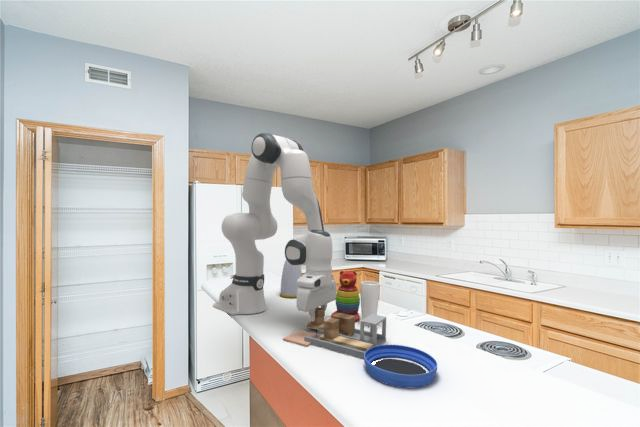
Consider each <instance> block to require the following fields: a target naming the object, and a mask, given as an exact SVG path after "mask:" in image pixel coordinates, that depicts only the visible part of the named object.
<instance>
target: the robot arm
mask: <svg viewBox="0 0 640 427" xmlns="http://www.w3.org/2000/svg"><path fill="white" fill-rule="evenodd" d="M277 168H280V176H281V177H280V178H281V179H280V180H281V192H282V195H283V197H284V199H285V201H287V202H288V203H290V204H291V205H293V206H295V207H296V208H298V209H299V210H300V211H301V212H302V213H303V215H304V216H305V219H306V225H307V231H308V232H307V233H306V234H304V235H301V236H300V237H297V238H292V239H290V240H288V241H287V243H286V245H285V246H284V257H285V261H286V260H287V261H288V262H289V263H290V264H291V265H296V266H300V265H301V266H305V272H304V273H303V274H302V276H301V277H300V278H299V279H298V280H297V286H299V287H298V289H297V298H295V299H296V308H297V311H299V312H303V313H308V315H309V322H310V321H313V322H314V321H316V320H317V319H316V318H317V315H315V312H314V311H315V308H317V307H320V308H325V311H324V317H325V316H326V310H327V307H328V304H329V303H331V302H334V301H336V296H337V283H336V281H335V277H334V276H333V268H332V260H333V239H332V235H331V234H330V233H329V232H328V231H326V230H325V227H324V220H323V216H322V211H321V205H320V202H319V200H318V198H317V196H316V193H315V192H314V186H313V180H312V179H313V178H312V169H311V165H310V160H309V156H308V154H307V153H306V152H305V151H304V148H303V146H302V145H301V144H300V143H299V142H297V141H295V140H292V139H290V138H288V137H286V136H282V135H276V134H271V133H268V132H267V133H266V132H262V133H258V134H257V135H256V136H254V138H253V141H252V142H251V155H250V157H249V160H248V162H247V166H246V168H245V169H246V170H245V175H244V180H243V186H242V193H241V196H242V199H243V201H245V202H246V203H247V205H248V212H236V213H232V214H228V215H225V217H224V218H223V220H222V223H221V232H222V235H223V237H224V238H226V239H227V240H228V241H229V243H230V244H231V246H232V248H233V251H234V255H235V256H234V257H235V274H234V275H232V276H231V277H230V279H232V280H231V283H230V284H229V285H228V286H227V287H225V288H224V289H223V290H222V291H221V292H220V294H219V298H218V301H217V302H215V303H213V305H212V308H214V309H216V310H219V311H221V312H223V313H226V314H228V315H232V316H233V315H235V316H236V315H251V314H252V315H253V314H259V313H264V312H265V311H266V310H267V305H266V300H265V291H264V289H265V288H264V284H265V274H264V264H265V263H264V262H265V259H264V258H265V257H264V254H263V252H262V251H260V250H259V249H258V248H257V245H256V241H257V240H258V241H259V240H260V241H261V240H266V239H269V238H272V237H274V236H275V235H276V233H277V231H278V221H277V219H276V218H275V217H274V215H273V213H272V208H271V194H272V193H271V192H272V187H273V181H274V174H275V171H276V169H277Z"/></svg>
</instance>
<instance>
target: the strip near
mask: <svg viewBox="0 0 640 427" xmlns="http://www.w3.org/2000/svg"><path fill="white" fill-rule="evenodd" d="M319 340H323V341H327V342H330V343H334V344H338V345H342V346H346V347H349V348H353V349H357V350H361V351H365V352H366V351H367V350H368V349H369V348H371V347H374V344H370V343H366V342H362V341H358V340H354V339H350V338H346V337H342V336H339V319H335V318H331V317H329V318H328V319H324V334H323V335H321V336H319Z"/></svg>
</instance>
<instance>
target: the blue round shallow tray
mask: <svg viewBox="0 0 640 427" xmlns="http://www.w3.org/2000/svg"><path fill="white" fill-rule="evenodd" d="M381 359H383V360H381ZM363 360H364V365H365V370H366V372H367V373H368V374H369V376H370V377H371V378H373V379H375V380H376V379H377V380H376V381H378V380H379V381H378V382H380V381H381V383H383V382H384V383H383V384H385V383H387V385H389V386H392V385H393V387H397V386H399V387H398V388H405V387H415V388H420V387H419V386H422V387H425V386H428V385H430V384H431V383H432V382H433V381H434V379H435V375H436V374H437V372H438V362H437V360H436V359H435V358H434V356H432V355H431V354H429V353H428V352H425V351H423V350H421V349H418V348H416V347H415V348H414V347H411V346H407V345H403V344H402V345H401V344H400V345H399V344H382V345H378V346H374V347H371V348H369V349H368V350H367V351H366V352H365V353H364V359H363ZM376 360H381V361H378V362H376V364H375V365H372V364H371V363H372V362H373V361H376ZM410 361H411V362H410ZM423 368H424V369H423ZM426 370H427V371H428V372H427V371H426ZM426 372H427V373H426ZM427 384H428V385H427ZM424 385H425V386H424Z"/></svg>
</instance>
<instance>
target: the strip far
mask: <svg viewBox="0 0 640 427" xmlns="http://www.w3.org/2000/svg"><path fill="white" fill-rule="evenodd" d="M324 311H325V308H321V306H320V307H317V308H315V311H314V312H315V315H317V318H316V319H317V320H316V321H314V322H313V321H310V320H309V322H307V323H306V328H309V329H312V330H316V331H318V329H321V330H324V321H325V316H324ZM325 312H326V311H325ZM339 334H341V335H345V336H352V335H353V334H354V331H352V332H351V333H349V334H347V333H343V332H339Z"/></svg>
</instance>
